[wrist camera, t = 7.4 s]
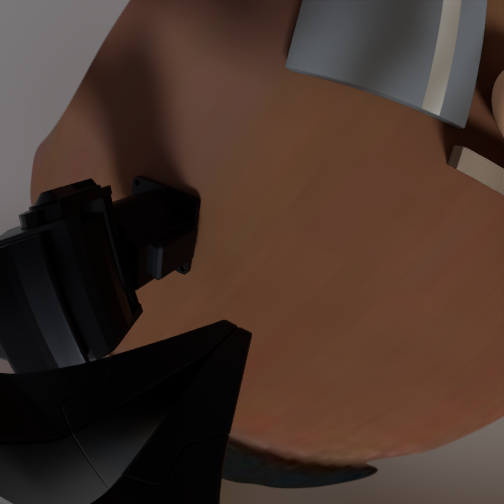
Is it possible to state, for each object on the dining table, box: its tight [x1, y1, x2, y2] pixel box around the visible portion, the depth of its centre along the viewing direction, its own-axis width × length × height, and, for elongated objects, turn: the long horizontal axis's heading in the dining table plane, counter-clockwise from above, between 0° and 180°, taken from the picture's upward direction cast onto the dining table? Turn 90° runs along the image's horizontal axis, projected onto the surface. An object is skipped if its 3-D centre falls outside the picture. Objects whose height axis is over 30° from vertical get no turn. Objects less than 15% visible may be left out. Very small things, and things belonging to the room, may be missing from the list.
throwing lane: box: [285, 0, 504, 195], centre depth 9 cm, size 20×16×2 cm
